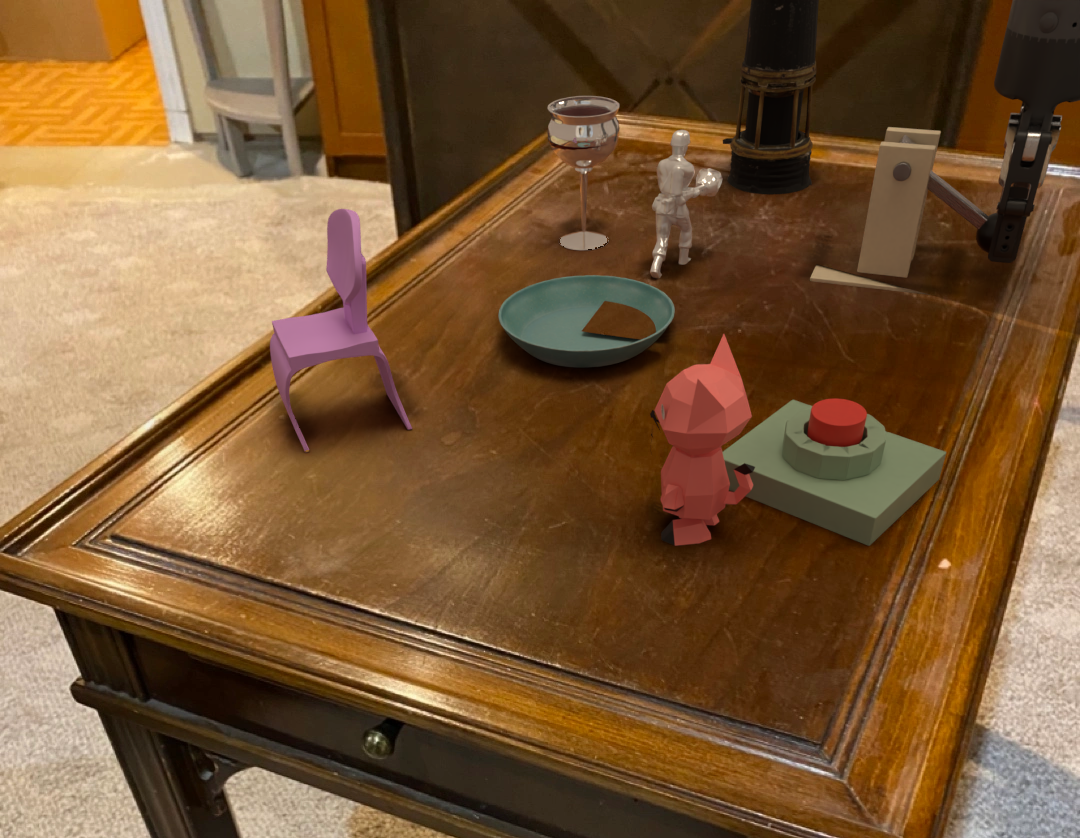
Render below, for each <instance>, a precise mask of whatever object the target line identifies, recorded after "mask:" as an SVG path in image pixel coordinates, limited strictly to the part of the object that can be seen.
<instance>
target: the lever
mask: <svg viewBox="0 0 1080 838" xmlns="http://www.w3.org/2000/svg"><path fill="white" fill-rule="evenodd" d="M898 143H908V144H916V143H915V142H914V141H913V140H911V139H910V138H909V137H908V136H906V135H904V136H903V137H902V139H901V140H900V141H899V142H898ZM927 189H928V191H929V192H931V193H932V194H934V196H936V197H937V198H938V199H940V200H941V201H942V202H943V203H944V204H946V205H947V206H948V207H950V208H951V209H952V210H953V211H954V212H956V213H957V214H958V215H960V217H962V218H963V219H964V220H966V221H967V222H968V223H970V225H972V226H973V227H974V228H976V234H975V235H976V236H975V240H976V243H977V245H978V247H979V248H980V250H982V252H985V253H987V254H989V249H990V245H991V241H992V237H993V233H994V229H995V225H996V221H997V217H998V215H997V212H994V213H991V214H989V215H988V214H987V213H985V212H984V211H983V210H981V209H980V208H979V207H978V206H977V205H975V204H974V203H973V202H971V201H970V200H969V199H968V198H966V197H965V196H964V195H963V194H962V193H960V192H959V191H958V190H957V189H955V187H953V186H952V185H951V184H949V183H948V182H947V181H945V179H943V178H942V177H940V176H939V175H938V174H936V172H934V171H933V170H931V171H930V176H929V181H928V185H927Z"/></svg>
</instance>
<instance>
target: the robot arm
mask: <svg viewBox="0 0 1080 838" xmlns="http://www.w3.org/2000/svg"><path fill="white" fill-rule="evenodd" d="M1006 24H1007V25H1006V28H1005V32H1004V37H1003V41H1002V45H1001V50H1000V54H999V59H998V64H997V67H996V72H995V77H994V81H993V87H994V89H995V91H996V93H998V94H999V95H1000V96H1002V97H1004V98H1007V99H1010V100H1019V101H1021V105H1020V110H1019V112H1018V113H1017V112H1010V115H1009V119H1008V122H1007V127H1006V132H1005V137H1004V140H1003V148H1004V151H1003V156H1002V158H1003V159H1002V164H1001V168H1000V172H999V176H998V185H999V186H1001V187H1002V190H1001V194H1000V198H999V201H997V205H996V209H995V210H996V213H997V215H998V217H997V221H996V225H995V229H994V233H993V237H992V241H991V245H990V249H989V253H987V254H988V255H987V259H988V260H989V261H990V262H993V263H1005V264H1012V263H1013V262H1015V261H1016V259H1017V256H1018V252H1019V249H1020V244H1021V241H1022V237H1023V233H1024V231H1025V226H1026V222H1027V218H1030V217H1031V214H1032V212H1034V209H1035V204H1034V202H1035V199H1036V195H1037V191H1038V189H1039V188H1041V187H1043V185H1044V182H1045V180H1046V176H1047V172H1048V168H1049V164H1050V159H1051V157H1052V152H1053V151H1054V150H1055V149H1056V147H1057V144H1058V141H1059V138H1060V132H1061V129H1062V125H1061V123H1062V119H1063V115H1062V114H1061V115H1060V114H1055V110H1056V108H1057V107H1058V105H1059V104H1062V103H1074V102H1079V101H1080V0H1012V2H1011V6H1010V10H1009V15H1008V19H1007V23H1006Z"/></svg>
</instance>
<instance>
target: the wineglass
mask: <svg viewBox="0 0 1080 838" xmlns="http://www.w3.org/2000/svg"><path fill="white" fill-rule="evenodd" d="M619 109H620V103H619V102H618V101H616V100H614V99H613V98H608V97H604V96H599V95H598V96H596V95H576V96H568V97H564V98H559V99H556V100H554V101H552V102H550V103H549V104H548V105H547V111H548V112H549V115H550V117H551V118H550V120H549V122H548V127H547V131H546V132H547V141H548V144H549V146H550V148H551V150H552V152H553V153H554V154H555V155H556V156H557V157H558V158H559V160H560V161H561V162H562V163H564V164H566V165H568V166H569V167H572V168H574V170H575V172H576V173H577V174H579V191H580V192H579V194H580V216H581V219H580V220H581V230H577V231H572V232H568V233H566V234H563V235H562V236H561V237H560V238H561V239H560V238H559V239H560V243H561V244H560V243H559V244H560V246H562V247H563V246H564V248H566V249H568V250H574V251H589V250H588V249H592V250H596V249H595V247H597V249H599V248H598V247H600V246H603V247H605V246H604V245H603V244H605V243H607V238H608V237H607V238H606V236H607V235H606V234H603V233H601V232H598V231H593V230H587V208H588V207H587V206H588V204H587V203H588V180H589V179H588V177H589V176H588V175H589V174H590V173H592V170H593V168H594V167H596V166H598V165H600V164H602V163H604V162H605V161H606V160H607V159H608V158H609V156H611V154H613V152H614V151H615V149H616V148H617V146H618V142H619V138H620V129H621V128H620V122H619V119H618V118H617V114H618V112H619ZM607 244H608V243H607Z"/></svg>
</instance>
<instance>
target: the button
mask: <svg viewBox="0 0 1080 838" xmlns="http://www.w3.org/2000/svg"><path fill="white" fill-rule="evenodd" d="M811 406H812V408H811V413H810V419H809V425H808V431H807V435H808V437H809V438H810V439H811V440H812V441H815V442H818V443H821V444H823V445H826V446H836V447H848V446H852V445H856V444H859V443H860V442H861V440H862V436H863V432H864V427H865V422H866V417H867V414H868V412H867V410H866V409H865V407H864V406H863V405H861V404H860V403H858V402H856V401H853V400H849V399H844V398H826V399H821V400H819V401H817V402H815V403H814V404H813V405H811Z"/></svg>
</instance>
